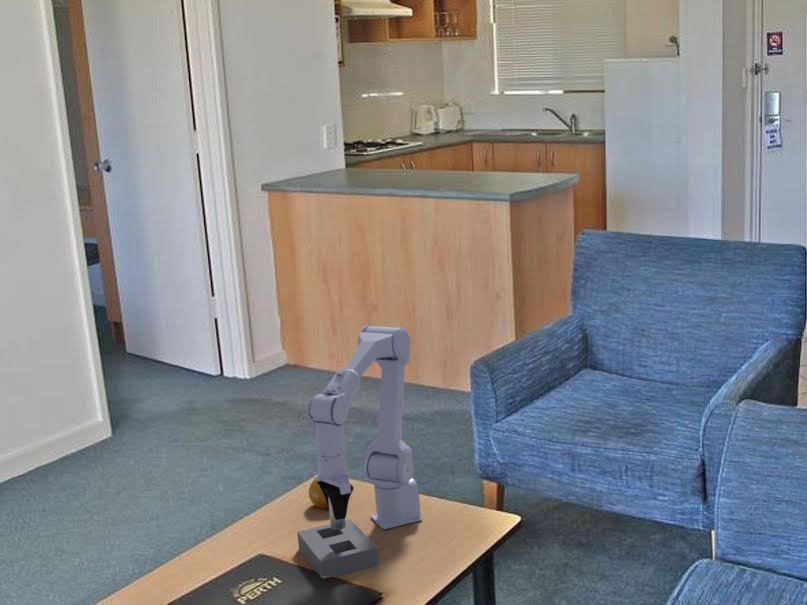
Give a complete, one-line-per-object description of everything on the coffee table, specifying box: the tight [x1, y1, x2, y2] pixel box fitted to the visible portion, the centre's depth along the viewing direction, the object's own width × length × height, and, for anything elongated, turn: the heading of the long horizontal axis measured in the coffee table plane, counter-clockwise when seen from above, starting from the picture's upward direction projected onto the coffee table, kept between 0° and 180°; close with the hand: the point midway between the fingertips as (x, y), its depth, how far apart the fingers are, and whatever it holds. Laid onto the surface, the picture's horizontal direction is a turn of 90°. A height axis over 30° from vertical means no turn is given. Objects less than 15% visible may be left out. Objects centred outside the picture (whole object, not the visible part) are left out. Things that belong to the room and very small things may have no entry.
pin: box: [328, 497, 346, 530], centre depth 213 cm, size 3×3×7 cm
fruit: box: [308, 478, 328, 509], centre depth 244 cm, size 8×8×8 cm
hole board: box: [296, 518, 379, 578], centre depth 218 cm, size 12×16×4 cm
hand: (337, 515), depth 213 cm, fingers closed on pin, 3 cm apart
